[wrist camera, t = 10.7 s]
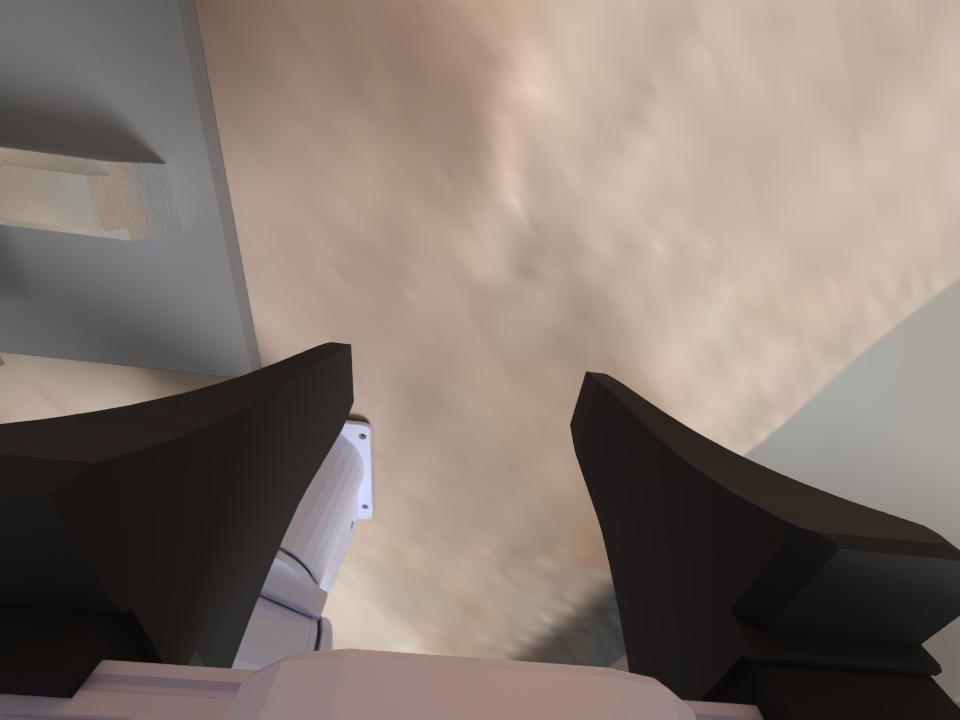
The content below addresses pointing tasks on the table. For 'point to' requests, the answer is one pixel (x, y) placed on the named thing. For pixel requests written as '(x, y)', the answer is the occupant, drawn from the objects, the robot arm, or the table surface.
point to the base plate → (131, 135)
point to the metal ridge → (85, 193)
